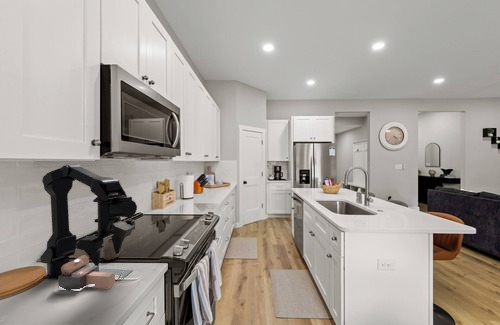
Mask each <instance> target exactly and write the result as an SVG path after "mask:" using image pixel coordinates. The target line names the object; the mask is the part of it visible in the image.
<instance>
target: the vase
mask: <svg viewBox="0 0 500 325" xmlns="http://www.w3.org/2000/svg"><path fill="white" fill-rule="evenodd" d="M103 246H104V247H103V248H102V249H101V256H102V258H103V259H104V260H106V261H112V260H111V259H113V260H115V259H117V258H118V257H119V255H120V254H121V253H120V252H121V250H120V251H119V253H118V254H116V253H115V250H114V246H113V242H112V237H111V238H107V241H106V242H105V243H104V245H103ZM116 257H117V258H116ZM114 258H115V259H114Z"/></svg>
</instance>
